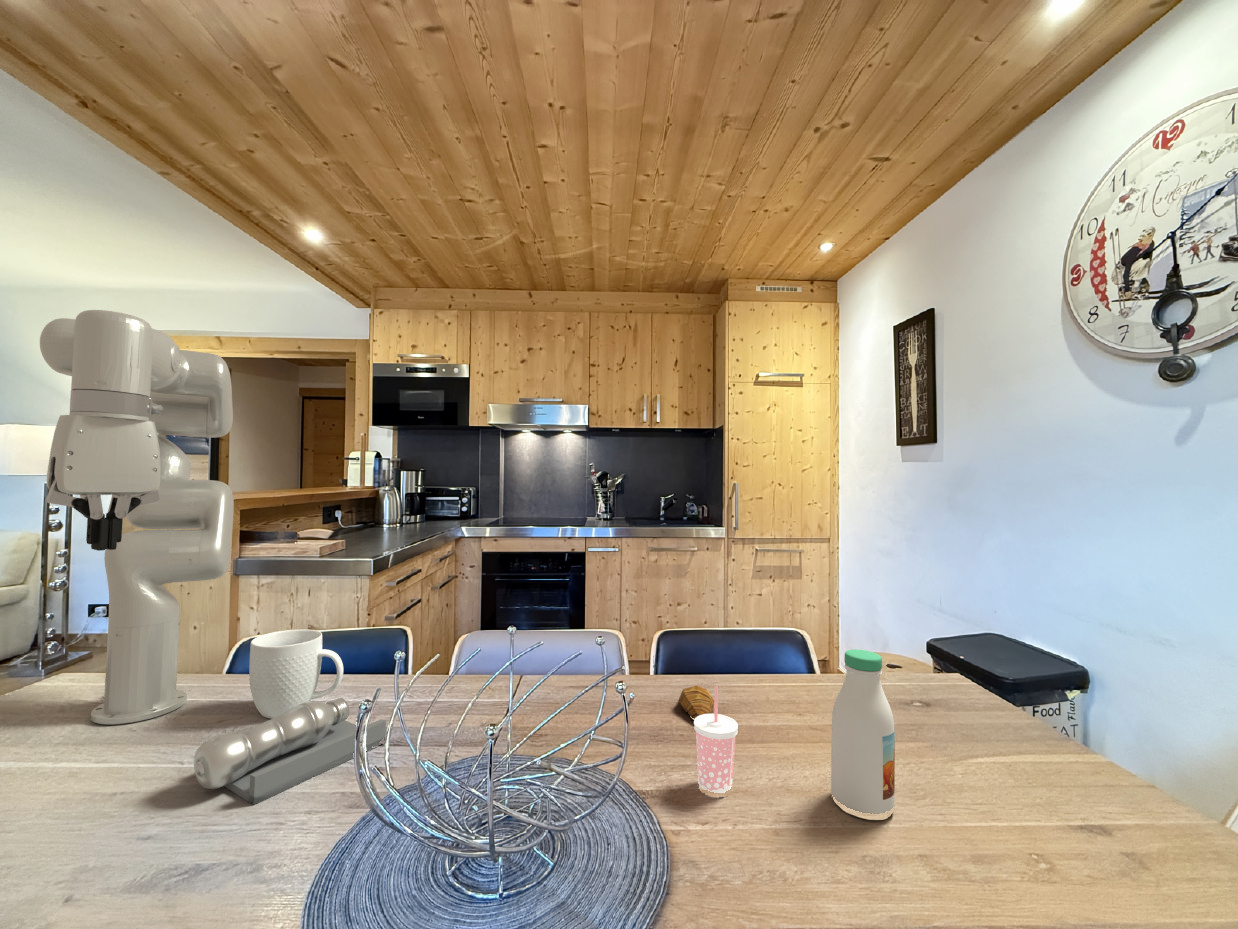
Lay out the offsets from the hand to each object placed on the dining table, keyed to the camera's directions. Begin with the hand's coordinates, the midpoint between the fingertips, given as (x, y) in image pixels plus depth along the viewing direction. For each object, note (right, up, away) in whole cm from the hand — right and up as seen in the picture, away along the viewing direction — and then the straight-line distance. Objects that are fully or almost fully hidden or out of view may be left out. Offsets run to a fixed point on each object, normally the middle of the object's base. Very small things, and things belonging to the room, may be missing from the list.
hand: (103, 548), depth 69 cm
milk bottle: (+99, -35, +2) cm, 105 cm away
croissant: (+81, -36, +30) cm, 94 cm away
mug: (+8, -33, +26) cm, 43 cm away
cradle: (+20, -33, +10) cm, 40 cm away
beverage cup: (+80, -34, +5) cm, 87 cm away
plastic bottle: (+12, -29, 0) cm, 31 cm away
